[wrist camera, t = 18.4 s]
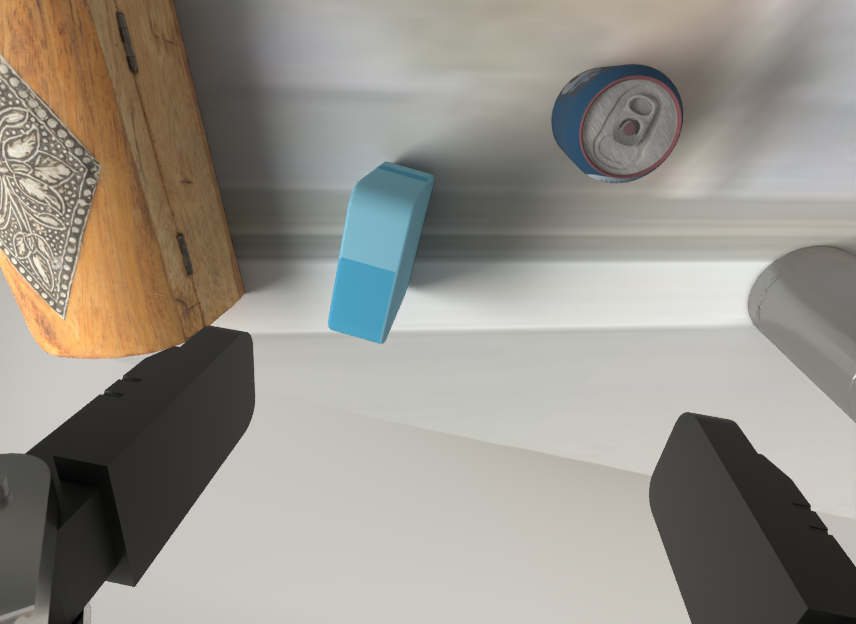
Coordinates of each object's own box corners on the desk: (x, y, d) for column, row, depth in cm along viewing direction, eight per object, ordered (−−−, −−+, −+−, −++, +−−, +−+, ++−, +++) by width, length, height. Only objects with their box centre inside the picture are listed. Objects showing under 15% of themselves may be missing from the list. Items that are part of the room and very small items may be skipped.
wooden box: (-12, -38, 40) (-239, -90, 28) (171, -55, 38) (13, -120, 26) (106, 294, 53) (-13, 359, 41) (248, 295, 51) (168, 365, 38)
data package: (387, 158, 43) (350, 184, 32) (436, 171, 43) (416, 203, 32) (363, 279, 48) (324, 336, 37) (406, 291, 48) (380, 352, 37)
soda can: (611, 172, 41) (652, 205, 30) (535, 141, 41) (549, 164, 30) (656, 87, 38) (719, 90, 27) (574, 53, 38) (606, 43, 27)
